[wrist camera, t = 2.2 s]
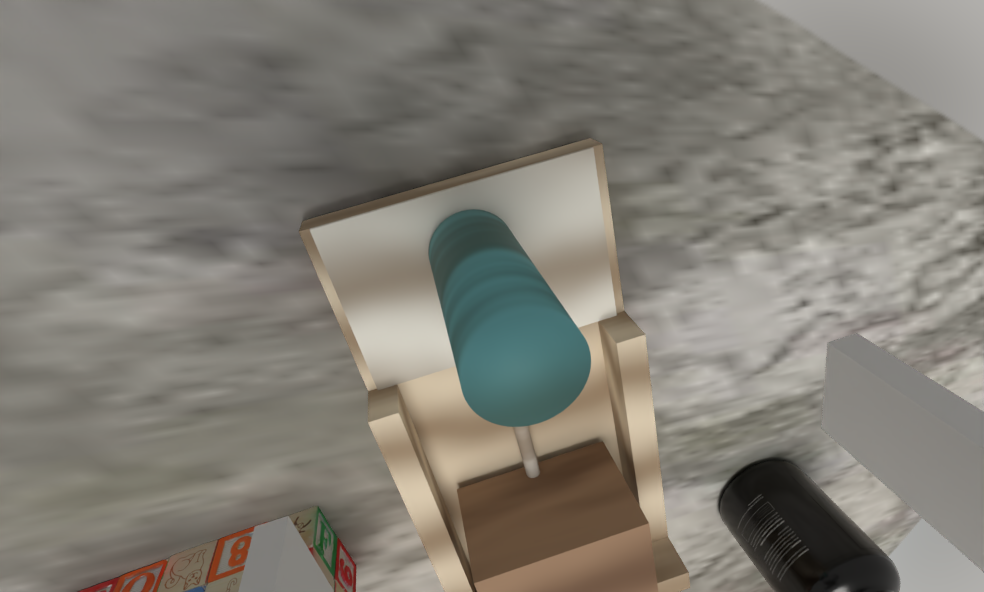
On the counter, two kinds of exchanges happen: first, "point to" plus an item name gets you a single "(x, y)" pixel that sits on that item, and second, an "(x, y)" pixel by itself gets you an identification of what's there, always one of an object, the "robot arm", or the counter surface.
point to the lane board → (429, 359)
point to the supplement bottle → (802, 534)
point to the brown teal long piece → (527, 401)
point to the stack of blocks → (236, 562)
